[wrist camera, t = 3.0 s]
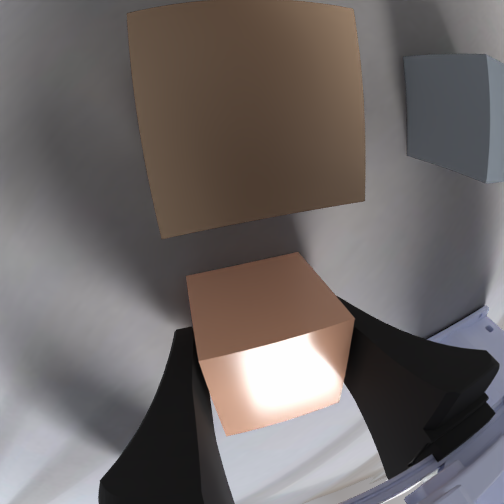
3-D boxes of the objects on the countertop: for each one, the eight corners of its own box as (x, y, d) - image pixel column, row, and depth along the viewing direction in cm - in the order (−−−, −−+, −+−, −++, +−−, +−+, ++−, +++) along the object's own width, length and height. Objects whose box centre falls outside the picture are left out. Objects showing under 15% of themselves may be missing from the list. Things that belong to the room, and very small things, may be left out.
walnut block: (281, 44, 8) (352, 8, 4) (292, 165, 10) (364, 200, 6) (146, 57, 7) (126, 13, 4) (165, 186, 10) (161, 239, 6)
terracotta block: (297, 251, 12) (354, 318, 8) (298, 332, 14) (339, 402, 10) (185, 275, 11) (198, 361, 7) (207, 355, 13) (226, 436, 9)
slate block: (461, 72, 10) (532, 81, 6) (461, 154, 12) (529, 179, 8) (401, 56, 9) (486, 54, 5) (405, 155, 11) (486, 183, 7)
